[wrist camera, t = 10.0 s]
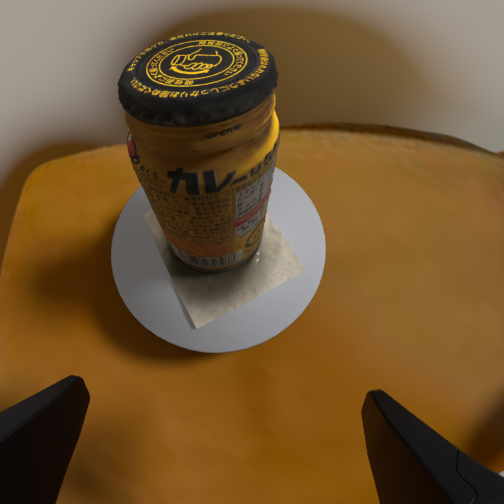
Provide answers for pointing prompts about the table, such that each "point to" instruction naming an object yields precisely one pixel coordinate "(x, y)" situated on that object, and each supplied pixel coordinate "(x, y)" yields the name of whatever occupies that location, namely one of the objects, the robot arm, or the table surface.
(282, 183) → the round white stand
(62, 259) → the table surface
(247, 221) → the condiment
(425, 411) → the table surface
